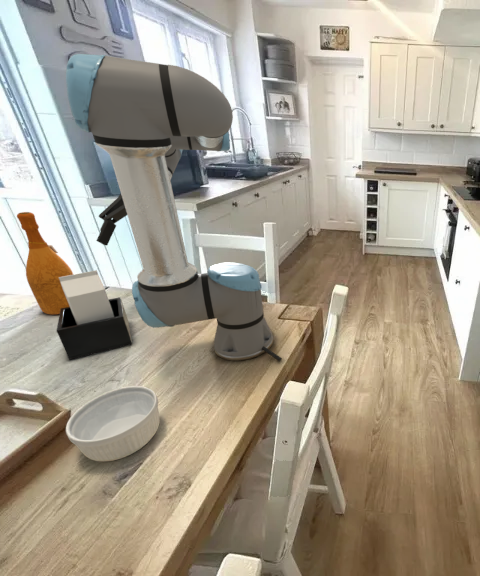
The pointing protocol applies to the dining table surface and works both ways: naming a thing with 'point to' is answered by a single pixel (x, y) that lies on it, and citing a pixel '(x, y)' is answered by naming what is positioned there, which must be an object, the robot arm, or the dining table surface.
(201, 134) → the robot arm
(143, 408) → the ramekin
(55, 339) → the dining table surface
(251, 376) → the dining table surface
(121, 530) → the dining table surface
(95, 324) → the open black box
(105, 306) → the milk carton
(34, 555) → the dining table surface
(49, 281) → the wine bottle
